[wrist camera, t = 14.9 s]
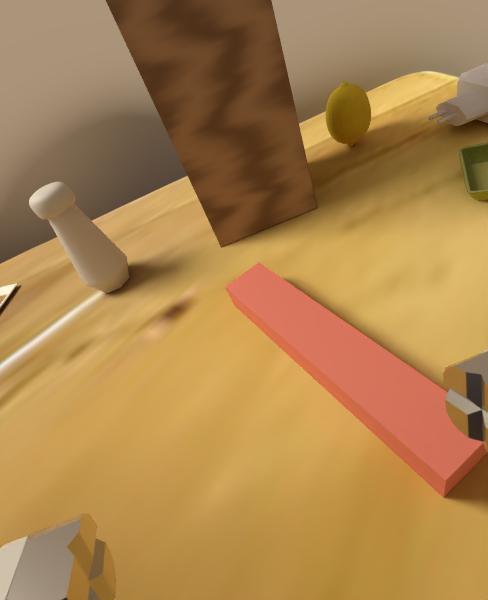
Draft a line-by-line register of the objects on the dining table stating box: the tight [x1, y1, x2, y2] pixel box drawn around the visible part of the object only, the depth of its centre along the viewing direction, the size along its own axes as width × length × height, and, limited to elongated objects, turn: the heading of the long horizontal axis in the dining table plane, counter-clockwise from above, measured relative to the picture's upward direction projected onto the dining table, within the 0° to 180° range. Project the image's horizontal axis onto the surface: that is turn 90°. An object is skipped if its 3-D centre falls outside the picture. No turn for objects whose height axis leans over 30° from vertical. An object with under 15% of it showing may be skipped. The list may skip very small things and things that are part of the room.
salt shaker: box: [29, 182, 130, 293], centre depth 41 cm, size 6×6×13 cm
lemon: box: [326, 82, 371, 146], centre depth 47 cm, size 6×6×8 cm
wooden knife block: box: [106, 0, 317, 247], centre depth 38 cm, size 12×12×28 cm
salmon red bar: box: [225, 263, 488, 497], centre depth 27 cm, size 4×22×3 cm, turn 34°
